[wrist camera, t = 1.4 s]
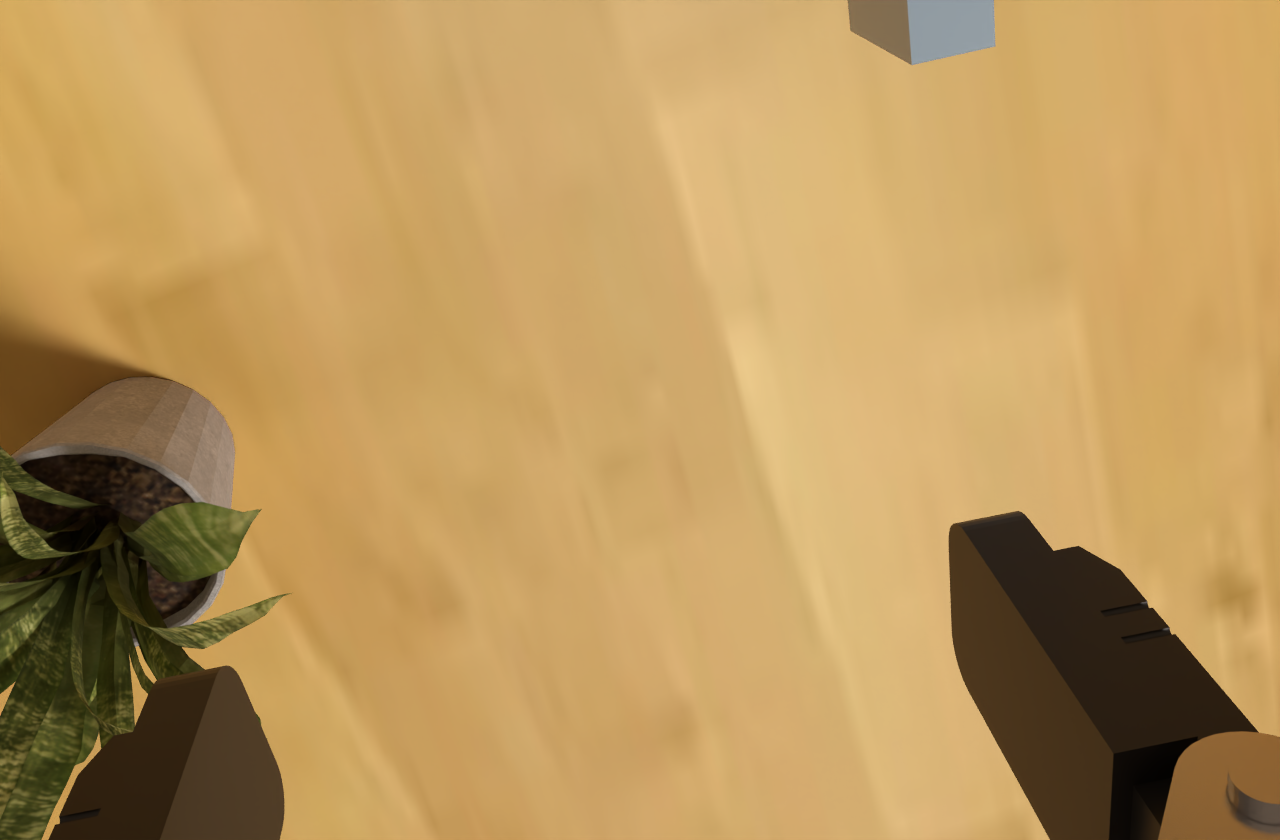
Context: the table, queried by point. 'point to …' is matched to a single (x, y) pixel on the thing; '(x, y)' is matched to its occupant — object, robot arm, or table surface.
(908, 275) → the table surface
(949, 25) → the jug
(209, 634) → the house plant
